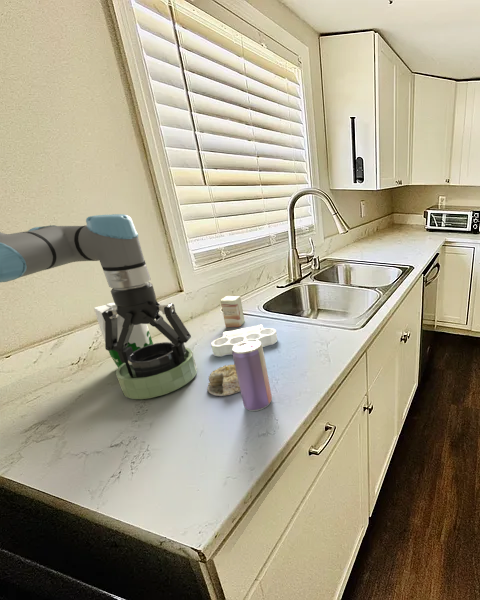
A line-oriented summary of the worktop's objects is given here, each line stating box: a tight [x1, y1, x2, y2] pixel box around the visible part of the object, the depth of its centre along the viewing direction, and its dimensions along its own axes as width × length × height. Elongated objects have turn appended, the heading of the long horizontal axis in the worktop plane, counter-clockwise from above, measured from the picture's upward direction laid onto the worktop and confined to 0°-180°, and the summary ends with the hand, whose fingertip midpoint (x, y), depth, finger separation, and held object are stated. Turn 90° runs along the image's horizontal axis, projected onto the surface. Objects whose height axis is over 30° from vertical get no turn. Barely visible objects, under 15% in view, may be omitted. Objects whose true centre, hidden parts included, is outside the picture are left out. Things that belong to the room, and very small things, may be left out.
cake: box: [206, 363, 241, 397], centre depth 80 cm, size 10×10×5 cm
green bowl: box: [115, 346, 198, 400], centre depth 81 cm, size 15×15×6 cm
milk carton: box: [93, 302, 154, 368], centre depth 86 cm, size 9×9×20 cm
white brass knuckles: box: [210, 324, 278, 358], centre depth 100 cm, size 3×18×15 cm
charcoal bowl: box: [128, 341, 177, 378], centre depth 80 cm, size 10×10×6 cm
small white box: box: [220, 295, 246, 328], centre depth 112 cm, size 5×4×10 cm
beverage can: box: [232, 340, 273, 412], centre depth 71 cm, size 6×6×15 cm
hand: (158, 369), depth 81 cm, fingers closed on charcoal bowl, 10 cm apart
